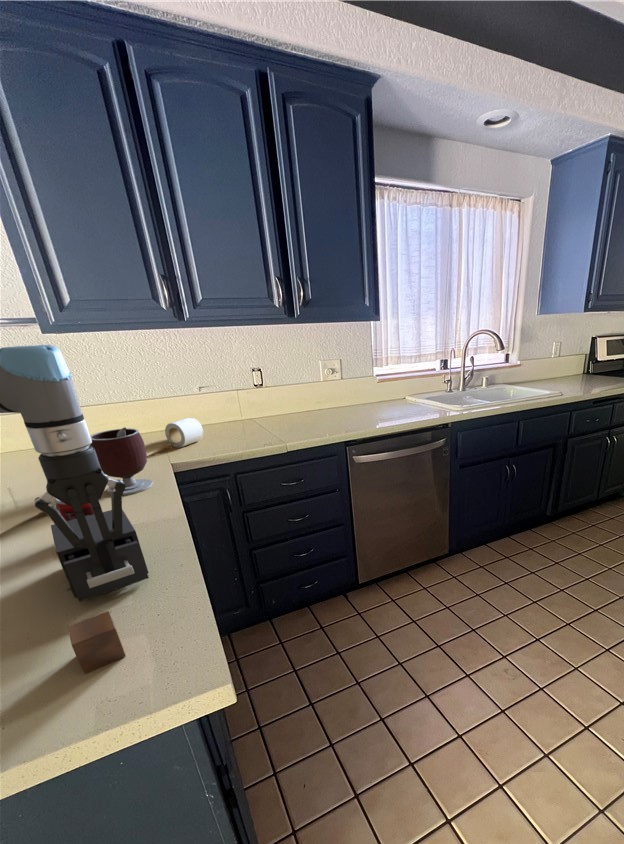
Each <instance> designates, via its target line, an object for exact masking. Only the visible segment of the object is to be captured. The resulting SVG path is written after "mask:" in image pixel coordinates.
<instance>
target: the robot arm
mask: <svg viewBox="0 0 624 844" xmlns="http://www.w3.org/2000/svg"><path fill="white" fill-rule="evenodd" d="M65 360H66V359H65V358H64V356H63V353H62V352H61V350H60V348H58V347H56V346H55V345H52V344H37V345H36V344H35V345H18V346H17V345H16V346H5V347H0V414H20V415H21V418H22V420H23V423H24V426H25V428H26V429H25V430H26V431H27V433H28V436H29V438H30V441H31V443H32V446H33V448H34V451H35V452H37V453H38V454H39V456H38V458H37V459H38V461H39V465H40V466H41V469H42V472H43V474H44V477H45V479H46V485H45V489H46V492H44V493H43V494H41V496H39V497H35V499H34V507H35V508H36V509H38V510H39V511H41V512H43V513H44V514H46V515H47V516H48V517H49V518H50V520H51V521H52V522H53V524H55V525H56V526H57V527H58V528H59V530H60V531H61V532H62V533H63V535H64V536H65V537H66V538H67V540H68V541H69V542H70V543H71V545H72V546H73V547H74V548H76V549H79V548H87V549H88V550H89V553H90V556H91V558H92V561H93V562H94V563H95V564H97V563H100V562H101V563H102V565H103V568H104V571H105V574H106V573H109V572H112V571H115V569H114V566H113V563H112V560H111V559H112V558H116V557H117V552H116V549H115V546H114V543H113V541H114V539H115V538H117V537H120V536H122V534H123V528H122V510H123V495H122V494H123V492H124V489H125V484H124V483H123V479H113V478H109V476H108V475H106V474H105V473H104V472H103V471H102V469H101V467H100V464H99V461H98V458H97V455H96V452H95V449H94V448H93V447H92V446H90V444H91V443H92V440H91V437H90V436H91V434H90V431H89V427H88V425H87V422H86V420H85V419H86V418H85V416H84V414H83V412H82V411H83V410H82V408H81V405H80V402H79V399H78V396H77V393H76V389H75V385H74V382H73V379H72V377H73V376H72V373H71V371H70V370H69V368H68V365H67V363H66V361H65ZM107 486H108V488H109V490H110V492H111V495H110V499H111V500H110V501H111V502H110V503H111V510H112V529H111V530H110V531H109V529H108V526H107V523H106V520H105V517H104V514H103V512H104V511H103V509H102V506H101V502H100V499H101V498H102V497H103V494H104V492H105V490H106V487H107ZM108 488H107V489H108ZM53 498H55V499H58V500H60V501H62V502H63V503H65V504H67V505H69V506H72V508H73V510H74V513H75V516H76V518H77V521H78V524H79V526H80V529H81V532H82V534H83V537H84V538H79V537H78V536H77V535H76V533H75V532H74V531H73V529H72V528H71V527H70V526H69V524H68V523H67V522H66V520H65V519H64V518H63V517H62V515H61V514H60V511H59V509H57V507H56V506H55V504H56V502H55V500H54V499H53ZM89 503H90V504H91V507H92V510H93V512H94V515H95V518H96V521H97V524H98V526H99V529H100V532H101V535H102V537H103V540H100V541H97V542H94V540H93V537H92V534H91V531H90V529H89V526H88V523H87V520H86V518H85V515H84V512H83V509H82V505H84V504H89Z"/></svg>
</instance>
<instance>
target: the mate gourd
mask: <svg viewBox="0 0 624 844" xmlns="http://www.w3.org/2000/svg"><path fill="white" fill-rule="evenodd" d="M90 437H91V440H92V443H91V444H90V445H89V446H92V447H93V448H94V449H95V452H96V455H97V458H98V461H99V464H100V467H101V469H102V471H103V472H104V473H105V474H106V475H107V477H111V478H120V479H122V481H123V483H124V484H125V489H124V492H123V494H122V496H128V495H134V494H137V493H141V492H145V491H146V490H148V489H150V488H151V487H152V486H153V481H152V480H150V479H148V478H147V479H146V478H136V479H135V478H134V477H133V476H135V475H137V474H139V473H141V472H142V471H143V470H144V468H145V466H146V465H147V462H148V456H147V455H148V454H147V449H146V445H145V442H144V439H143V437H142V435H141V434H140V431H139V429H137V428H127V427H125V426H124V427H122V428H116V429H109V430H103V431H99V432H96V433H93V434H90ZM107 493H108V495H110V496H111V492H110V490H109V488H107Z"/></svg>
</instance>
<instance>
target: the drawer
mask: <svg viewBox="0 0 624 844" xmlns="http://www.w3.org/2000/svg"><path fill="white" fill-rule="evenodd" d="M113 543H114V546H115V549H116V552H117V557H116V558H112V559H111V560H112V563H113V566H114V569H115V571H112V572H109V573H106V574H105V571H104V568H103V565H102V563H101V562H100V563H97V564H95V563H94V562H93V561H92V558H91V556H90V553H89V550H88V549H84V550H80V551H77V552H73V553H70V554H68V558H69V561H66V562H64V566H65V568H66V571H67V573H68V576H69V578H70V580H71V583H72V585H73V588H74V590H75V593H76V595H77V597H76V598H77V600H78V602H79V603H80V602H83V601H86V600H89V599H92V598H95V597H97V596H100V595H103V594H106V593H110V592H112V591H116V590H118V589H122V588H124V587H126V586H129V585H132V584H135V583H136V584H137V583H138V582H141V581H144V580H147V579H149V575H148V574H149V573H147V571H146V568H145V565H144V562H143V558H142V555H141V552H140V549H139V546H138V543H137V541H134V542H131V541H130V539H129V537H125V538H122V539H118V540H115V541H113Z"/></svg>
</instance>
